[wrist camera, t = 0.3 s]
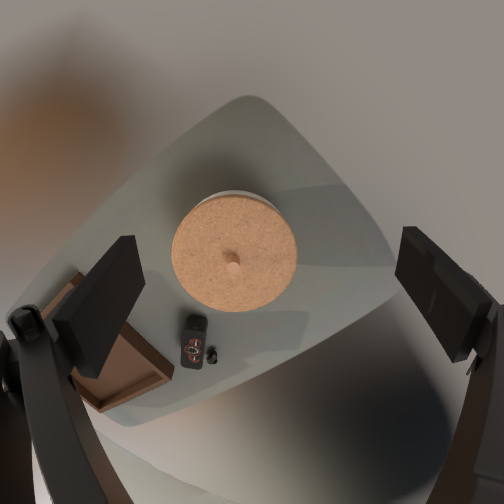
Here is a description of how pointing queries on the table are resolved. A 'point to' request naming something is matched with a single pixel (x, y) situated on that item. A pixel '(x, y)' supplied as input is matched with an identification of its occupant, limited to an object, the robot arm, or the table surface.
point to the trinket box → (234, 251)
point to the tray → (120, 366)
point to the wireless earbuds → (195, 343)
